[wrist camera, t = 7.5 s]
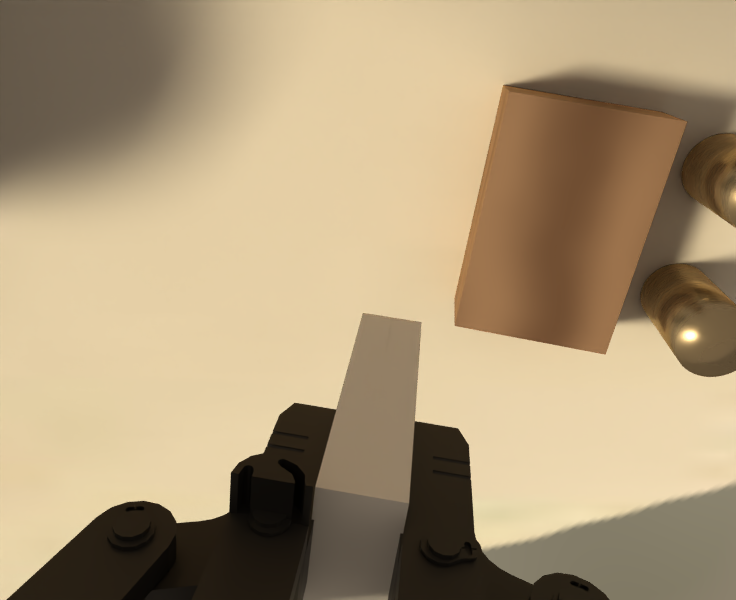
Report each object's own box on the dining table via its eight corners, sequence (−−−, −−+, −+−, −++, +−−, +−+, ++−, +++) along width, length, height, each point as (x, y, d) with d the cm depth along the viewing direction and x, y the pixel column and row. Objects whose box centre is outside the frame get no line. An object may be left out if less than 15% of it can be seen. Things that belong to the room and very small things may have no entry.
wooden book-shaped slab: (454, 296, 37) (454, 325, 33) (502, 84, 32) (509, 91, 28) (590, 322, 36) (605, 354, 33) (660, 111, 31) (687, 121, 28)
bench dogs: (632, 317, 36) (664, 369, 30) (695, 128, 31) (746, 149, 26) (696, 328, 35) (741, 382, 30) (769, 139, 31) (836, 162, 26)
